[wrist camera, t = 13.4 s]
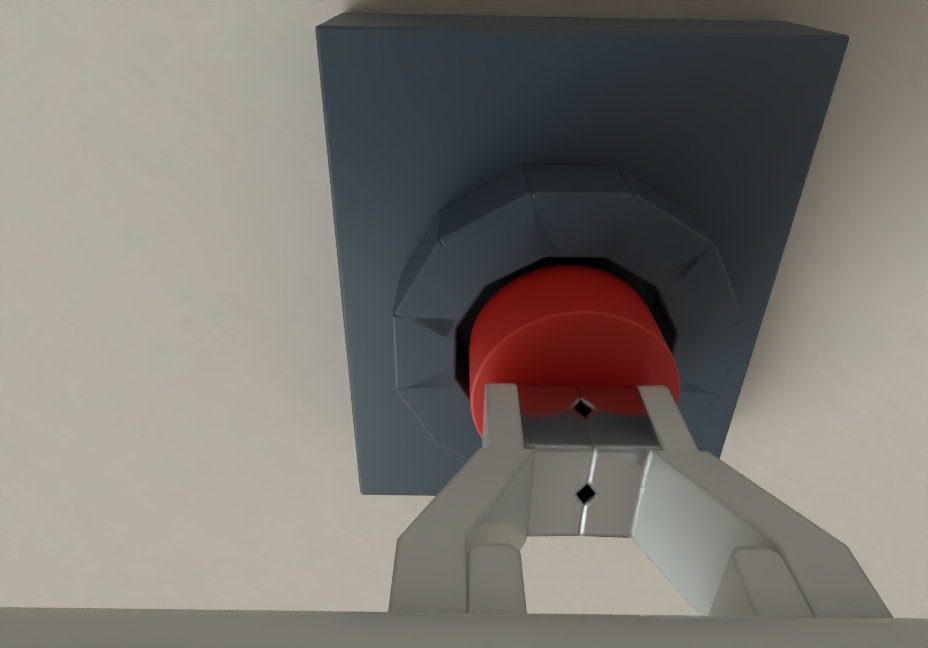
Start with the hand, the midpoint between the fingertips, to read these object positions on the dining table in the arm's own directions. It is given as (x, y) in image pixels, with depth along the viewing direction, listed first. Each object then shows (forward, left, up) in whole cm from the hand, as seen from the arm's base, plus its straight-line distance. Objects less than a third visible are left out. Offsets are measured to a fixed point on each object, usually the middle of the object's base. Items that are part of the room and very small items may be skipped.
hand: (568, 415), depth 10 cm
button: (0, 0, -2) cm, 2 cm away
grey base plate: (0, 0, -6) cm, 6 cm away
